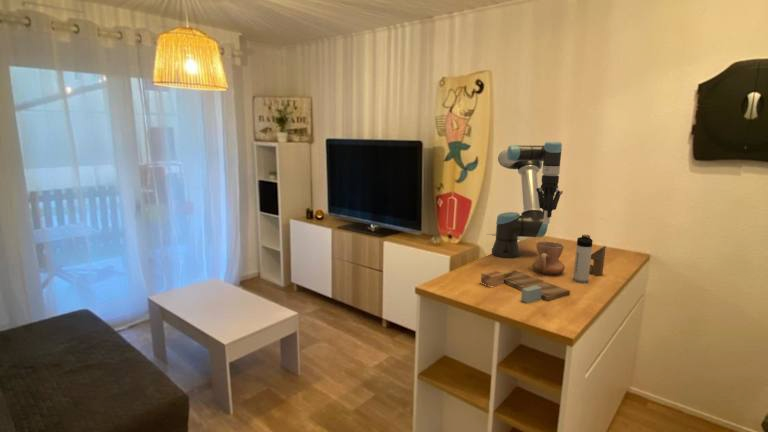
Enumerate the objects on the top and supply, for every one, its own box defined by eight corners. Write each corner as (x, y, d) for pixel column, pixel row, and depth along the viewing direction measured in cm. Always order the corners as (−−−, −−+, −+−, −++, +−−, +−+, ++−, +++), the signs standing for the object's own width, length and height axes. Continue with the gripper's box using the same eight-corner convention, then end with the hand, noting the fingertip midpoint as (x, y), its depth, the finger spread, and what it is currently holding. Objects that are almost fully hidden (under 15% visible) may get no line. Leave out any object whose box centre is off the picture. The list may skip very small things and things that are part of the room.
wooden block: (599, 276, 192) (604, 239, 189) (576, 270, 200) (580, 235, 197) (602, 274, 195) (606, 238, 191) (579, 269, 203) (583, 234, 199)
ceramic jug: (539, 264, 209) (541, 238, 206) (569, 270, 199) (571, 242, 196) (525, 274, 196) (527, 245, 193) (556, 280, 186) (558, 251, 183)
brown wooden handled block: (480, 283, 182) (481, 272, 181) (506, 277, 190) (506, 267, 189) (490, 287, 177) (491, 276, 176) (516, 281, 185) (516, 270, 184)
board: (492, 278, 188) (493, 274, 187) (514, 273, 195) (514, 270, 194) (547, 301, 162) (547, 296, 162) (569, 294, 169) (570, 290, 169)
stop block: (521, 300, 163) (522, 288, 162) (534, 296, 167) (535, 285, 166) (527, 303, 160) (528, 291, 159) (541, 299, 164) (542, 287, 163)
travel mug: (587, 278, 188) (591, 237, 185) (589, 283, 182) (593, 240, 178) (572, 277, 190) (576, 235, 187) (573, 281, 184) (578, 239, 180)
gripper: (533, 174, 196) (529, 222, 200) (558, 176, 185) (553, 227, 190) (543, 173, 200) (539, 220, 204) (567, 175, 189) (563, 225, 194)
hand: (546, 223), depth 197 cm, fingers closed
